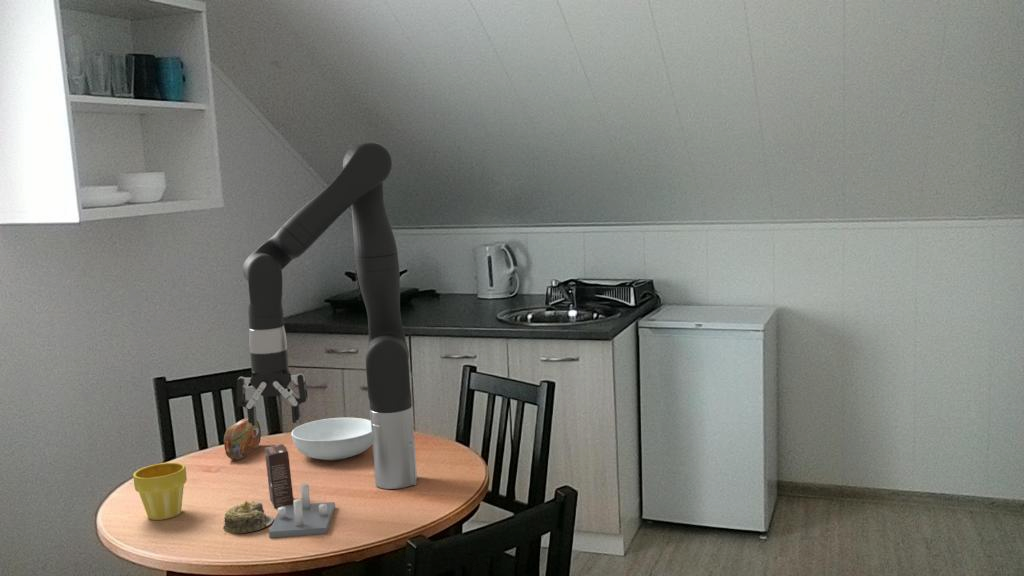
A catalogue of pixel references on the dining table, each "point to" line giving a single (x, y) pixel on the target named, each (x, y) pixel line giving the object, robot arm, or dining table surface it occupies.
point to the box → (279, 475)
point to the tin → (241, 439)
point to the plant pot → (161, 489)
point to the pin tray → (307, 520)
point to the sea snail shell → (246, 518)
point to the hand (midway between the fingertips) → (274, 423)
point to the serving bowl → (333, 438)
